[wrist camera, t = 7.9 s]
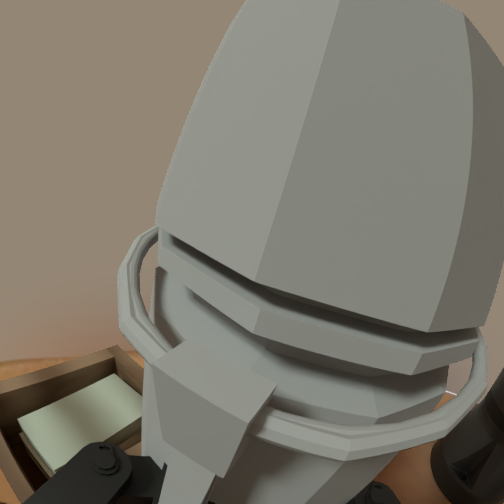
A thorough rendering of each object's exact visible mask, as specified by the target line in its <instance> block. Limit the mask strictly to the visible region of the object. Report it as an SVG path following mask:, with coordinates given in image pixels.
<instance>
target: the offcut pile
mask: <svg viewBox="0 0 504 504" xmlns="http://www.w3.org/2000/svg"><path fill="white" fill-rule="evenodd" d="M17 420H18V422H19V424H20V426H21V428H22V431H23V432H22V433H19V435H20V437H21V439H22V441H23V443H24V445H25V446H24V447H25V449H26V451H27V453H28V455H29V456H30V458H31V459H32V461H33V462H34V463H35V465H36V466H37V467H38V469H39V470H40V471H41V473H42V474H43V475H44V476H45V478H46V479H47V480H49V479H50V478H51V477H52V476H53V475H54V474H55V473H56V472H57V471H58V470H60V469H61V468H62V467H63V466H64V465H65V464H66V463H67V462H68V461H69V460H70V459H71V458H72V457H73V456H75V455H76V454H77V453H78V452H79V451H80V450H81V449H82V448H83V447H85V446H86V445H88V444H90V443H94V442H99V441H100V442H107V443H111V444H113V445H116V446H118V447H120V448H121V449H122V450H123V451H126V450H127V449H129V448H131V447H133V446H134V445H136V444H138V443H139V442H141V434H142V396H141V395H140V394H139V393H137V392H136V391H135V390H134V389H132V388H131V387H130V386H129V385H127V384H126V383H125V382H124V381H123V380H121V379H120V378H119V377H118V376H117V375H116V374H112V375H110V376H108V377H106V378H104V379H102V380H100V381H98V382H96V383H94V384H92V385H90V386H88V387H85V388H83V389H81V390H79V391H77V392H75V393H73V394H71V395H69V396H67V397H65V398H62V399H60V400H58V401H56V402H54V403H52V404H50V405H47V406H45V407H43V408H41V409H39V410H36V411H34V412H32V413H30V414H27V415H25V416H23V417H21V418H18V419H17Z"/></svg>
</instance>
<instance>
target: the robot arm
mask: <svg viewBox="0 0 504 504" xmlns="http://www.w3.org/2000/svg"><path fill="white" fill-rule="evenodd" d="M167 467H168V465H167V464H166V463H165V462H164V465H163V468H162V470H161V468H160V467H159V466H158V465H157V464H156V463H155V461H154V460H153V459H152V458H151V457H150V456H135V455H127V453H126V452H124V451H123V450H122V449H121V448H120V447H118V446H116V445H113V444H111V443H107V442H100V441H99V442H94V443H90V444H88V445H86V446H85V447H83V448H82V449H81V450H80V451H79V452H78V453H77V454H76V455H75V456H73V457H72V458H71V459H70V460H69V461H68V462H67V463H66V464H65V465H64V466H63V467H62V468H61V469H60V470H58V471H57V472H56V473H55V474H54V475H53V476H52V477H51V478H50V479H49V480H48V481H47V482H45V483H44V484H43V485H42V486H41V487H40V488H39V489H38V490H37V491H36V492H34V493H33V494H32V495H31V496H30V497H29V498H28V499H27V500H26V501H24V502H23V503H22V504H158V503H159V499H160V494H161V490H162V486H163V482H164V478H165V474H166V470H167ZM431 467H432V471H433V475H434V477H435V480H436V482H437V484H438V486H439V487H440V489H441V490H442V492H443V493H444V494H445V495H446V496H447V498H449V499H450V500H451V501H452V502H453V503H454V504H502V503H503V502H504V368H503V369H502V371H501V373H500V374H499V376H498V378H497V379H496V381H495V383H494V384H493V386H492V387H491V389H490V391H489V392H488V393H487V395H486V397H485V398H484V399H483V400H482V401H481V402H480V403H479V404H478V405H477V406H476V407H474V408H473V409H472V410H471V411H469V412H468V413H467V414H466V415H465V417H464V418H463V419H462V420H461V421H460V422H459V423H458V424H457V425H456V426H455V427H454V428H453V429H452V430H451V431H450V432H449V433H448V434H447V435H446V436H445V437H443V438H441V439H438V440H437V441H436V443H435V444H434V446H433V449H432V453H431ZM207 504H215V503H213V502H210V501H208V503H207ZM346 504H401V503H400V502H399V500H398V499H397V497H396V496H395V494H394V493H393V491H392V490H391V489H390V488H389V487H388V486H386V485H385V484H383V483H380V482H375V481H372V482H370V483H369V484H368V485H367V486H366V487H365V488H363V489H362V490H361V491H360V492H359V493H358V494H357V495H356V496H355V497H353V498H352V499H351V500H350V501H349V502H348V503H346Z"/></svg>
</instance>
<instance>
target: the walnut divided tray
mask: <svg viewBox="0 0 504 504" xmlns="http://www.w3.org/2000/svg"><path fill="white" fill-rule="evenodd" d="M112 374H116V375H117V376H118V377H119V378H120V379H121V380H123V381H124V382H125V383H126V384H127V385H129V386H130V387H131V388H132V389H134V390H135V391H136V392H137V393H139V394H140V395H141V396H143V378H144V369H143V368H142V367H141V366H140V365H138V364H137V363H136V362H135V361H134V360H133V359H132V358H131V357H130V356H129V355H127V354H126V353H125V352H124V351H123V350H122V349H121V348H120V347H119V346H118V345H116V346H113V347H110V348H107V349H104V350H101V351H98V352H95V353H92V354H89V355H86V356H83V357H80V358H77V359H74V360H70V361H67V362H64V363H61V364H58V365H54V366H51V367H48V368H45V369H41V370H38V371H35V372H31V373H28V374H24V375H21V376H17V377H14V378H10V379H7V380H3V381H0V468H1V469H2V471H3V473H4V475H5V477H6V479H7V481H8V482H9V484H10V486H11V488H12V489H13V491H14V493H15V494H16V496H17V498H18V499H19V501H20V502H21V504H22V503H23V502H24V501H26V500H27V499H28V498H29V497H30V496H31V495H32V494H33V493H34V492H36V491H37V490H36V489H35V487H34V486H33V484H32V483H31V481H30V479H29V478H28V476H27V475H26V473H25V471H24V470H23V468H22V466H21V464H20V463H19V461H18V459H17V457H16V456H15V454H14V452H13V450H12V448H11V446H12V445H15V444H18V443H21V442H23V441H22V439H21V437H20V435H19V433H22V432H23V431H22V428H21V426H20V424H19V422H18V420H17V419H18V418H21V417H23V416H25V415H27V414H30V413H32V412H34V411H36V410H39V409H41V408H43V407H45V406H47V405H50V404H52V403H54V402H56V401H58V400H60V399H62V398H65V397H67V396H69V395H71V394H73V393H75V392H77V391H79V390H81V389H83V388H85V387H88V386H90V385H92V384H94V383H96V382H98V381H100V380H102V379H104V378H106V377H108V376H110V375H112ZM124 452H126V453H127V455H135V456H142V447H141V442H139V443H138V444H136V445H134V446H133V447H131V448H129V449H127V450H126V451H124Z"/></svg>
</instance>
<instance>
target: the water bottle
mask: <svg viewBox="0 0 504 504" xmlns="http://www.w3.org/2000/svg"><path fill="white" fill-rule="evenodd" d="M155 225H156V226H154V227H152V228H151V229H149V230H148V231H146V232H144V233H143V234H141V235H140V236H138V237H137V238H135V240H134V242H133V244H132V246H131V247H130V249H129V251H128V253H127V255H126V257H125V258H124V260H123V262H122V264H121V266H120V268H119V270H118V272H117V281H118V282H117V286H118V313H119V329H120V331H121V332H122V334H123V335H124V337H125V338H126V339H127V340H128V341H129V343H130V344H131V345H132V346H133V347H134V348H135V350H136V351H137V352H138V353H139V354H140V355H141V356H142V357H143V359H144V360H145V363H144V378H143V396H142V434H141V447H142V456H150V457H151V458H152V459H153V460H154V461H155V463H156V464H157V465H158V466H159V467H160V468H161V470H162V468H163V465H164V462H165V463H166V464H167V465H168V467H167V470H166V474H165V478H164V482H163V486H162V490H161V494H160V499H159V503H158V504H207V503H208V501H210V502H213V503H215V504H346V503H348V502H349V501H350V500H351V499H352V498H353V497H355V496H356V495H357V494H358V493H359V492H360V491H361V490H362V489H363V488H365V487H366V486H367V485H368V484H369V483H370V482H371V481H372V480H373V479H374V478H375V477H376V476H377V475H378V474H379V473H380V472H381V471H382V470H383V469H384V468H385V467H386V466H387V465H388V464H389V463H390V462H391V461H392V460H393V458H394V457H395V456H396V455H397V454H398V453H399V452H400V451H401V450H405V449H409V448H412V447H416V446H419V445H423V444H426V443H429V442H432V441H435V440H438V439H441V438H443V437H445V436H446V435H447V434H448V433H449V432H450V431H451V430H452V429H453V428H454V427H455V426H456V425H457V424H458V423H459V422H460V421H461V420H462V419H463V418H464V417H465V415H466V414H467V413H468V412H469V411H470V410H471V409H472V408H473V406H474V405H475V404H476V403H477V402H478V401H479V399H480V398H481V397H482V396H483V395H484V393H485V391H486V388H487V371H488V367H487V365H488V364H487V346H486V343H485V341H484V339H483V336H482V334H481V331H480V329H479V327H480V326H484V324H485V322H486V319H487V316H488V313H489V310H490V307H491V304H492V301H493V298H494V295H495V291H496V288H497V284H498V281H499V277H500V273H501V269H502V265H503V261H504V67H503V65H502V63H501V62H500V60H499V59H498V57H497V56H496V54H495V53H494V52H493V50H492V49H491V47H490V46H489V44H488V43H487V42H486V40H485V39H484V38H483V36H482V35H481V34H480V33H479V31H478V30H477V29H476V28H475V26H474V25H473V24H472V23H471V22H470V20H469V19H468V18H467V17H466V16H465V15H464V14H463V13H462V12H461V11H459V10H457V9H455V8H453V7H451V6H449V5H447V4H445V3H443V2H441V1H439V0H246V2H245V3H244V4H243V6H242V8H241V9H240V11H239V12H238V14H237V15H236V17H235V18H234V20H233V21H232V23H231V25H230V26H229V28H228V30H227V32H226V34H225V36H224V38H223V40H222V42H221V44H220V46H219V48H218V50H217V52H216V54H215V56H214V58H213V60H212V62H211V64H210V67H209V68H208V71H207V73H206V75H205V77H204V79H203V82H202V84H201V86H200V88H199V91H198V93H197V95H196V98H195V100H194V103H193V105H192V107H191V110H190V112H189V114H188V117H187V120H186V122H185V125H184V127H183V130H182V132H181V135H180V138H179V140H178V143H177V146H176V148H175V151H174V154H173V157H172V160H171V163H170V165H169V169H168V171H167V174H166V177H165V180H164V184H163V186H162V190H161V193H160V196H159V199H158V202H157V209H156V222H155ZM157 241H158V265H159V267H157V268H156V270H155V276H154V283H153V290H152V297H151V305H150V313H149V317H148V314H147V312H146V309H145V306H144V303H143V301H142V298H141V295H140V278H139V273H140V269H141V265H142V260H143V258H144V257H145V255H146V253H147V251H148V250H149V248H150V247H151V246H152V245H153V244H155V243H156V242H157ZM471 356H472V357H473V358H472V359H473V365H472V369H471V373H470V377H469V380H468V382H467V383H466V384H465V386H464V387H463V388H462V389H461V391H460V392H459V393H458V395H457V396H456V397H454V398H453V399H451V400H450V401H448V402H447V403H445V404H444V405H442V406H441V407H439V408H438V409H436V410H435V411H433V409H434V408H435V406H436V405H437V404H438V402H439V401H440V399H441V398H442V396H443V395H444V393H445V390H446V383H447V377H448V368H449V364H452V363H455V362H458V361H461V360H464V359H467V358H470V357H471ZM432 411H433V412H432Z"/></svg>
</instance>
